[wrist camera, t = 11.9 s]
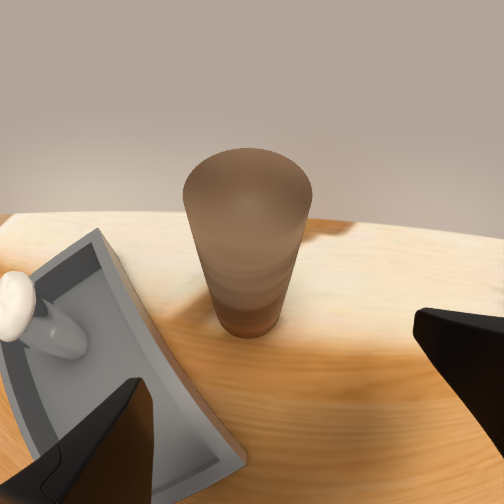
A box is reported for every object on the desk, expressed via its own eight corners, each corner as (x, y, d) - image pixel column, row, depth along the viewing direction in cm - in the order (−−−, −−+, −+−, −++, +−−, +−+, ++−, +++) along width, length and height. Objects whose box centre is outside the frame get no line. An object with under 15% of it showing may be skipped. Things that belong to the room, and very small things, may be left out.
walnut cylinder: (276, 342, 20) (312, 248, 9) (211, 333, 20) (166, 232, 9) (282, 282, 23) (311, 154, 12) (222, 275, 23) (201, 145, 12)
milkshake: (51, 315, 19) (-24, 258, 11) (97, 317, 20) (22, 254, 11) (45, 364, 17) (-41, 324, 8) (93, 371, 17) (3, 334, 9)
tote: (246, 452, 16) (246, 464, 12) (107, 518, 11) (81, 533, 7) (117, 255, 24) (98, 227, 20) (16, 327, 19) (-12, 310, 15)
